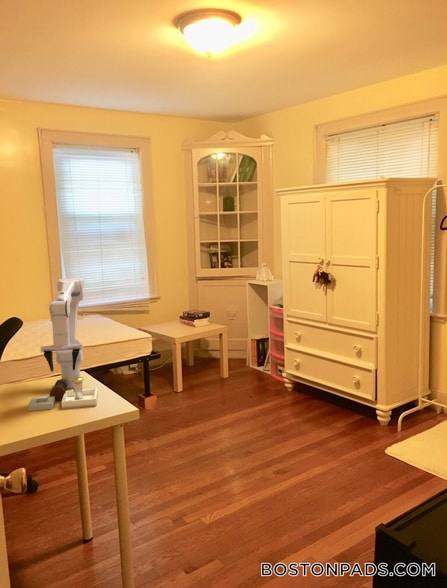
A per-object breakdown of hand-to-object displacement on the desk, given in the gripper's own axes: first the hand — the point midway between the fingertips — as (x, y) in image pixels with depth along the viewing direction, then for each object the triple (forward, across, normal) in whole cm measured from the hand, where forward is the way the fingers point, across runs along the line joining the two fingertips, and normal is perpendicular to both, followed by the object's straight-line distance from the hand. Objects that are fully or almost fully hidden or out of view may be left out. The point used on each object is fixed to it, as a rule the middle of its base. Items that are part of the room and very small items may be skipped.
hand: (63, 370), depth 179 cm
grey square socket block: (+11, -7, -6) cm, 14 cm away
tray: (+11, +6, -6) cm, 13 cm away
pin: (+10, +6, -6) cm, 13 cm away
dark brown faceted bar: (+10, -2, +4) cm, 11 cm away
